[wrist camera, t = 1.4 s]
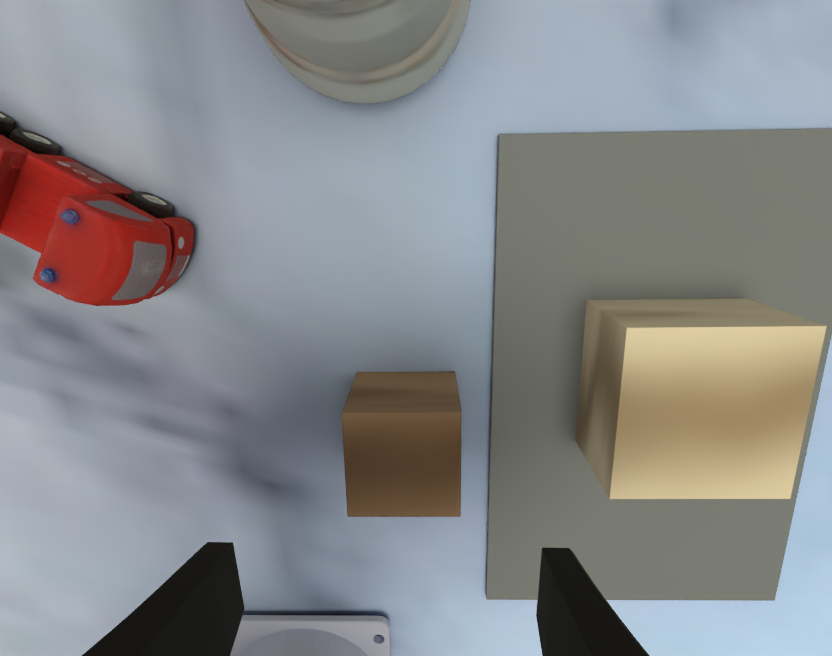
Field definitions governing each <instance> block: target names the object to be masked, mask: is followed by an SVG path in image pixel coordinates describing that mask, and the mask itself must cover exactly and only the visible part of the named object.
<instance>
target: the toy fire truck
mask: <svg viewBox="0 0 832 656" xmlns="http://www.w3.org/2000/svg"><path fill="white" fill-rule="evenodd" d="M14 124H15V122H14V121H13V120H12V118H10V117H9V116H7V115H5V114H4V113H2V112H0V233H2V234H4V235H6V236H8V237H10V238H12V239H14V240H16V241H18V242H20V243H22V244H24V245H25V246H28V247H30V248H32V249H34V250H36V251H38V252H40V253H42V254H41V257H40V259H39V261H38V265H37V268H36V270H35V274H34V277H33V279H34V281H35V282H36V283H37V284H39V285H40V286H42V287H44V288H46V289H48V290H51V291H53V292H55V293H56V294H60V295H62V296H64V297H65V298H66V299H69V300H72V301H75V302H79V303H84V304H90V305H95V306H117V305H129V304H135V303H138V302H140V301H143V300H144V299H150V298H151V297H154V296H157V295H159V294H161V293H163V292H165V291H166V290H167V289H168V288H170V287H171V286H172V285H173V284H174V283H175V282H176V281H177V279H178V278H179V277H180V275H181V274H182V272H183V271H184V269H185V268H186V266H187V263H188V261H189V259H190V255H191V252H192V248H193V241H194V227H193V226H192V224H191V223H190V222H189V221H188V220H186V219H183V218H181V217H172V216H171V215H172V211H173V206H172V205H171V204H170V203H168V202H167V201H165V200H163V199H161V198H159V197H157V196H154V195H152V194H149V193H145V192H134V193H133V192H132V191H131V190H129V189H127V188H125V187H123V186H121V185H120V184H118V183H116V182H115V181H112V180H111V179H109V178H107V177H105V176H103V175H101V174H99V173H97V172H95V171H93V170H91V169H90V168H88V167H85V166H84V165H82V164H80V163H79V162H77V161H75V160H73V159H71V158H69V157H65V156H60V155H58V153H59V150H60V149H59V146H58V145H57V144H55V143H54V142H53V141H51V140H50V139H48V138H46V137H44V136H41V135H39V134H36V133H33V132H30V131H27V130H24V129H19V128H16V129H14V130H13V128H14ZM9 131H12V132H11V133H10V139H8V138H6V137H5V133H6V132H9Z"/></svg>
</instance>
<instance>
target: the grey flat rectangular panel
mask: <svg viewBox="0 0 832 656" xmlns="http://www.w3.org/2000/svg"><path fill="white" fill-rule="evenodd" d="M738 298H746V299H749V300H752V301H755V302H758V303H761V304H763V305H766V306H769V307H772V308H775V309H778V310H781V311H784V312H787V313H790V314H793V315H796V316H799V317H802V318H805V319H807V320H810V321H813V322H816V323H819V324H822V325H825V326H827V327H826V332H825V336H824V341H823V346H822V351H821V355H820V360H819V365H818V370H817V374H816V379H815V384H814V389H813V393H812V398H811V403H810V408H809V412H808V417H807V422H806V427H805V431H804V436H803V441H802V446H801V450H800V455H799V460H798V465H797V469H796V474H795V479H794V484H793V488H792V493H791V498H790V499H609V497H608V495H607V494H606V492H605V490H604V489H603V487H602V485H601V484H600V482H599V480H598V479H597V477H596V475H595V473H594V472H593V470H592V468H591V467H590V465H589V463H588V462H587V460H586V458H585V457H584V455H583V453H582V452H581V450H580V448H579V446H578V445H577V443H576V430H577V417H578V404H579V392H580V379H581V366H582V353H583V340H584V327H585V314H586V301H587V300H641V299H738ZM831 335H832V129H782V130H726V131H671V132H615V133H559V134H503V135H498V165H497V202H496V239H495V276H494V312H493V349H492V386H491V423H490V460H489V497H488V534H487V571H486V599H509V600H538V590H539V577H540V565H541V552H542V548H569V549H571V550H572V551H573V553H574V554H575V556H576V557H577V559H578V560H579V562H580V563H581V565H582V566H583V568H584V569H585V571H586V572H587V574H588V575H589V577H590V578H591V580H592V581H593V583H594V584H595V585H596V587H597V588H598V590H599V591H600V592H601V594H602V595H603V597H604V598H605V599H606V600H775V596H776V591H777V587H778V582H779V577H780V573H781V568H782V563H783V559H784V554H785V549H786V545H787V540H788V535H789V531H790V526H791V521H792V517H793V512H794V507H795V503H796V498H797V493H798V489H799V484H800V479H801V475H802V470H803V465H804V461H805V456H806V451H807V447H808V442H809V437H810V433H811V428H812V423H813V419H814V414H815V409H816V405H817V400H818V395H819V391H820V386H821V381H822V377H823V372H824V367H825V363H826V358H827V353H828V349H829V344H830V339H831Z"/></svg>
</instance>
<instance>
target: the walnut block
mask: <svg viewBox="0 0 832 656" xmlns="http://www.w3.org/2000/svg"><path fill="white" fill-rule="evenodd" d="M342 429H343V446H344V462H345V479H346V496H347V513H348V517H460V507H461V407H460V400H459V394H458V388H457V382H456V375H455V371H454V372H357V374H356V376H355V379H354V382H353V384H352V387H351V390H350V392H349V395H348V398H347V400H346V403H345V405H344V408H343V411H342Z"/></svg>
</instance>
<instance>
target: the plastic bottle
mask: <svg viewBox="0 0 832 656" xmlns="http://www.w3.org/2000/svg"><path fill="white" fill-rule="evenodd" d="M244 2H245V5H246V7H247V9H248V12H249V14H250V17H251V19H252V20H253V22H254V24H255V25H256V27H257V29H258V30H259V32H260V34H261V35H262V37H263V39H264V40H265V42H266V44H267V45H268V47H269V48H270V50H271V52H272V53H273V55H274V56H275V57H276V58H277V59H278V60H279V61H280V63H281V64H282V65H283V66H284V67H285V68H286V69H287V70H288V71H289V72H290V73H291V74H292V75H293V76H295V77H296V78H297V79H299V80H300V81H301V82H302V83H304V84H305V85H306V86H308V87H310V88H311V89H313V90H315V91H317V92H319V93H321V94H323V95H325V96H327V97H330V98H334V99H338V100H341V101H345V102H349V103H363V104H372V103H379V102H386V101H391V100H393V99H396V98H399V97H401V96H404V95H407V94H409V93H411V92H413V91H414V90H416V89H417V88H419V87H420V86H422V85H423V84H425V83H427V82H428V81H429V80H430V79H431V78H432V77H433V76H434V75H435V74H436V73H437V72H438V71H439V70H440V69H441V68H442V67H443V66H444V64H445V63H446V61H447V60H448V59H449V57H450V56H451V54H452V53H453V51H454V50H455V48H456V46H457V44H458V42H459V39H460V37H461V35H462V32H463V30H464V28H465V25H466V21H467V16H468V12H469V7H470V3H471V0H244Z"/></svg>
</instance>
